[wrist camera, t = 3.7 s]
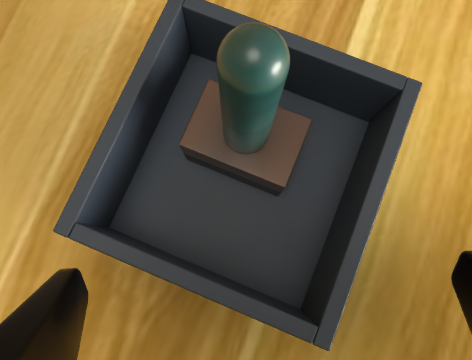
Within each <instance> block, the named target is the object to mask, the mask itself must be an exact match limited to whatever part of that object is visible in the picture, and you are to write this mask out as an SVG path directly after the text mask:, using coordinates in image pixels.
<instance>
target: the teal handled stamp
mask: <svg viewBox="0 0 472 360" xmlns="http://www.w3.org/2000/svg"><path fill="white" fill-rule="evenodd" d="M289 67H290V54H289V49H288V47H287V44H286V42H285V40H284V39H283V37H282V36H281V35H280V34H279V33H278V32H277V31H276V30H275V29H274V28H272V27H270V26H268V25H266V24H262V23H255V22H253V23H245V24H242V25H239V26H237V27H236V28H234V29H233V30H231V31H230V32H229V33H228V34H227V35H226V36H225V38H224V39H223V40H222V42H221V44H220V47H219V49H218V53H217V73H218V82H215V81H213V80H210V79H209V80H208V82H207V84H206V86H205V88H204V90H203V92H202V95H201V97H200V99H199V101H198V103H197V106H196V108H195V110H194V112H193V114H192V116H191V119H190V121H189V123H188V125H187V127H186V130H185V132H184V134H183V136H182V138H181V140H180V143H179V146H180V148H181V150H182V151H183V153H184V155H185V157H186V159H187V160H190V161H192V162H194V163H197V164H199V165H202V166H204V167H207V168H209V169H212V170H214V171H216V172H219V173H221V174H224V175H226V176H229V177H231V178H233V179H236V180H238V181H241V182H243V183H246V184H248V185H251V186H253V187H255V188H258V189H260V190H263V191H265V192H268V193H270V194H273V195H275V196H279V195H280V194H281V192H282V191H283V190H284V189H285V188H286V186H287V183H288V181H289V178H290V176H291V173H292V170H293V168H294V165H295V163H296V160H297V158H298V155H299V153H300V150H301V148H302V145H303V143H304V140H305V138H306V135H307V133H308V130H309V128H310V125H311V123H312V119H309V118H307V117H304V116H302V115H299V114H297V113H294V112H292V111H289V110H287V109H284V108H281V107H279V106H278V104H279V101H280V98H281V94H282V91H283V88H284V85H285V81H286V78H287V75H288V72H289Z"/></svg>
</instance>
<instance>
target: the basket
mask: <svg viewBox="0 0 472 360" xmlns="http://www.w3.org/2000/svg"><path fill="white" fill-rule="evenodd" d="M253 22H255V23H262V24H266V23H263V22H260V21H258V20H255V19H252V18H250V17H247V16H245V15H242V14H239V13H237V12H234V11H231V10H229V9H226V8H223V7H221V6H218V5H215V4H213V3H210V2H208V1H205V0H168V2H167V4H166V6H165V8H164V10H163V12H162V14H161V16H160V18H159V20H158V22H157V24H156V26H155V28H154V30H153V32H152V34H151V36H150V38H149V40H148V42H147V44H146V46H145V48H144V50H143V52H142V54H141V56H140V58H139V60H138V62H137V64H136V66H135V68H134V70H133V72H132V74H131V76H130V78H129V80H128V82H127V84H126V86H125V88H124V90H123V92H122V94H121V96H120V98H119V100H118V102H117V104H116V106H115V108H114V110H113V112H112V114H111V116H110V118H109V120H108V122H107V124H106V126H105V128H104V130H103V132H102V134H101V136H100V138H99V140H98V142H97V144H96V146H95V148H94V150H93V152H92V154H91V156H90V158H89V160H88V162H87V164H86V166H85V168H84V170H83V172H82V174H81V176H80V178H79V180H78V182H77V184H76V186H75V188H74V190H73V192H72V194H71V196H70V198H69V200H68V202H67V204H66V206H65V208H64V210H63V212H62V214H61V216H60V218H59V220H58V222H57V224H56V226H55V228H54V230H53V231H54V232H55V233H57V234H60V235H62V236H64V237H68V238H70V239H71V240H74V241H76V242H78V243H81V244H83V245H85V246H88V247H90V248H92V249H94V250H97V251H99V252H101V253H104V254H106V255H108V256H111V257H113V258H115V259H117V260H120V261H122V262H124V263H127V264H129V265H131V266H134V267H136V268H138V269H140V270H143V271H145V272H147V273H150V274H152V275H154V276H157V277H159V278H161V279H164V280H166V281H168V282H170V283H173V284H175V285H177V286H180V287H182V288H184V289H187V290H189V291H191V292H193V293H196V294H198V295H200V296H203V297H205V298H207V299H210V300H212V301H214V302H217V303H219V304H221V305H223V306H226V307H228V308H230V309H233V310H235V311H237V312H240V313H242V314H244V315H246V316H249V317H251V318H253V319H256V320H258V321H260V322H263V323H265V324H267V325H270V326H272V327H274V328H276V329H279V330H281V331H283V332H286V333H288V334H290V335H293V336H295V337H297V338H299V339H302V340H304V341H306V342H309V343H313V344H314V345H315V346H318V347H320V348H322V349H325V350H327V351H329V350H330V348H331V345H332V343H333V340H334V337H335V334H336V331H337V328H338V325H339V322H340V319H341V317H342V314H343V311H344V308H345V305H346V302H347V299H348V296H349V294H350V291H351V288H352V285H353V282H354V279H355V276H356V273H357V271H358V268H359V265H360V262H361V259H362V256H363V253H364V250H365V247H366V245H367V242H368V239H369V236H370V233H371V230H372V227H373V224H374V222H375V219H376V216H377V213H378V210H379V207H380V204H381V201H382V199H383V196H384V193H385V190H386V187H387V184H388V181H389V178H390V175H391V173H392V170H393V167H394V164H395V161H396V158H397V155H398V152H399V150H400V147H401V144H402V141H403V138H404V135H405V132H406V129H407V127H408V124H409V121H410V118H411V115H412V112H413V109H414V106H415V103H416V101H417V98H418V95H419V92H420V89H421V86H422V82H419V81H416V80H414V79H411V78H407V77H406V76H403V75H400V74H398V73H395V72H393V71H390V70H387V69H385V68H382V67H379V66H377V65H374V64H371V63H369V62H366V61H363V60H361V59H358V58H356V57H353V56H350V55H348V54H345V53H342V52H340V51H337V50H334V49H332V48H329V47H326V46H324V45H321V44H319V43H316V42H313V41H311V40H308V39H305V38H303V37H300V36H297V35H295V34H292V33H289V32H287V31H284V30H282V29H279V28H276V27H274V26H271V25H268V24H266V25H268V26H270V27H272V28H274V29H275V30H276V31H277V32H278V33H279V34H280V35H281V36H282V37H283V39H284V40H285V42H286V44H287V47H288V49H289V54H290V67H289V72H288V75H287V78H286V81H285V85H284V88H283V91H282V94H281V98H280V101H279V104H278V106H279V107H281V108H284V109H287V110H289V111H292V112H294V113H297V114H299V115H302V116H304V117H307V118H309V119H312V123H311V125H310V128H309V130H308V133H307V135H306V138H305V140H304V143H303V145H302V148H301V150H300V153H299V155H298V158H297V160H296V163H295V165H294V168H293V170H292V173H291V176H290V178H289V181H288V183H287V186H286V188H285V189H284V190H283V191H282V192H281V194H280V195H279V196H275V195H273V194H270V193H268V192H265V191H263V190H260V189H258V188H255V187H253V186H251V185H248V184H246V183H243V182H241V181H238V180H236V179H233V178H231V177H229V176H226V175H224V174H221V173H219V172H216V171H214V170H212V169H209V168H207V167H204V166H202V165H199V164H197V163H194V162H192V161H190V160H187V159H186V157H185V155H184V153H183V151H182V150H181V148H180V146H179V143H180V140H181V138H182V136H183V134H184V132H185V130H186V127H187V125H188V123H189V121H190V119H191V116H192V114H193V112H194V110H195V108H196V106H197V103H198V101H199V99H200V97H201V95H202V92H203V90H204V88H205V86H206V84H207V82H208V80H209V79H210V80H213V81H215V82H218V73H217V53H218V49H219V47H220V44H221V42H222V40H223V39H224V38H225V36H226V35H227V34H228V33H229V32H230V31H231V30H233V29H234V28H236V27H237V26H239V25H242V24H245V23H253Z"/></svg>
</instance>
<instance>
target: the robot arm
mask: <svg viewBox="0 0 472 360" xmlns="http://www.w3.org/2000/svg"><path fill="white" fill-rule="evenodd" d="M451 280H452V285H453V287H454V290H455V293H456V295H457V298H458V300H459V303H460V305H461V308H462V311H463V313H464V316H465V318H466V321H467V324H468V326H469V329H470V331H471V334H472V251H464V252H462V253H461V254H460V256H459V259H458V261H457V263H456V265H455V268H454V270H453V272H452V277H451ZM87 304H88V290H87V288H86V285H85V282H84V280H83V277H82V275H81V272H80V271H79V270H78V269H76V268H72V269H61V270H59V271H57V272H56V273H55V274H54V275H53V276H52V277H51V278H49V279H48V280H47V281H46V282H45V283H44V284H43V285H42V286H41V287H40V288H39V289H38V290H36V291H35V292H34V293H33V294H32V295H31V296H30V297H29V298H28V299H27V300H26V301H24V302H23V303H22V304H21V305H20V306H19V307H18V308H17V309H16V310H15V311H14V312H13V313H11V314H10V315H9V316H8V317H7V318H6V319H5V320H4V321H3V322H2V323H1V324H0V360H77V357H78V352H79V347H80V341H81V336H82V331H83V325H84V320H85V315H86V309H87Z"/></svg>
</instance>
